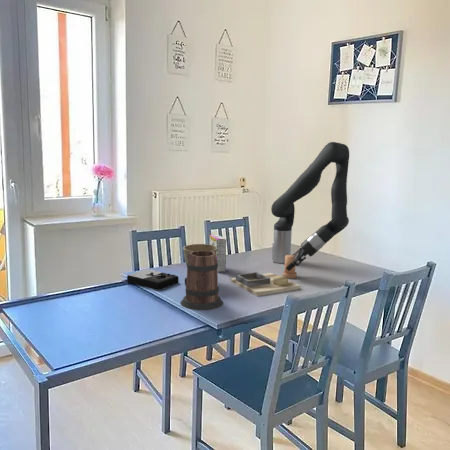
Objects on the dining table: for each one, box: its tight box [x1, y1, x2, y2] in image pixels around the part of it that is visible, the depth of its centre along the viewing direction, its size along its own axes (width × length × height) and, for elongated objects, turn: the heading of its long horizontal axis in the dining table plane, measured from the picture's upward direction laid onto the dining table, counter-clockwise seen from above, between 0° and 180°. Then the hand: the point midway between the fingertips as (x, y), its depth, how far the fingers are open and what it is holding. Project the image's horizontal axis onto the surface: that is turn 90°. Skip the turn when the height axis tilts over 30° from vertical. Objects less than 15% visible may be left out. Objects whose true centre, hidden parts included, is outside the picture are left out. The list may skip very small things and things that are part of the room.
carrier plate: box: [230, 271, 301, 297], centre depth 206 cm, size 22×22×4 cm
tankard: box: [180, 251, 224, 311], centre depth 184 cm, size 24×17×20 cm
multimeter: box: [126, 268, 180, 291], centre depth 207 cm, size 13×19×5 cm
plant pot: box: [182, 243, 217, 267], centre depth 207 cm, size 15×15×16 cm
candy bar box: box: [208, 234, 227, 273], centre depth 229 cm, size 11×5×16 cm, turn 22°
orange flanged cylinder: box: [282, 254, 298, 280], centre depth 219 cm, size 6×6×10 cm
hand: (287, 267), depth 219 cm, fingers open, 8 cm apart
